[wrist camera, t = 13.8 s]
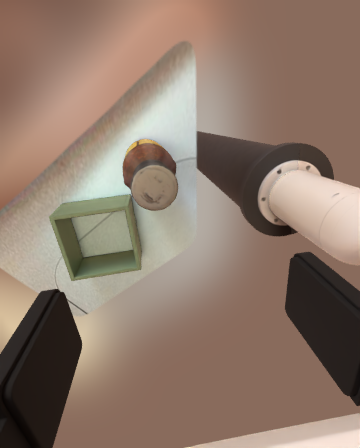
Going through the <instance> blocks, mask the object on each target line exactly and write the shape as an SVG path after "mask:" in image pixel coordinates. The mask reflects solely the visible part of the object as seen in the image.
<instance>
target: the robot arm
mask: <svg viewBox="0 0 360 448" xmlns="http://www.w3.org/2000/svg"><path fill="white" fill-rule="evenodd" d="M277 171H278V172H277ZM258 207H259V210H260V212H261V213H262V215H263V216H264V217H265V218H266V219H267V220H268V221H270V222H271V223H273V224H276V225H285V226H286V225H289V226H291V227H292V228H293V229H295V230H296V231H298V232H299V233H300V234H302V235H303V236H304V237H306V238H307V239H309V240H310V241H311V242H313V243H314V244H316V245H317V246H319V247H320V248H321V249H323V250H324V251H325V252H327V253H328V254H330V255H331V256H332V257H334V258H336V259H337V260H340V261H342V262H344V263H347V264H352V265H360V188H357V187H354V186H351V185H347V184H344V183H341V182H340V181H339V182H338V181H335V180H332V179H328V178H325V177H322V176H321V175H320V172H319V171H318V170H317V168H316V167H314V166H313V165H312V164H310V163H308V162H304V161H299V160H293V161H287V162H284V163H282V164H280V165H278V166H276V167H275V168H274V169H273V170H271V171H270V172H269V173H268V174H267V176H266V177H265V178H264V180H263V181H262V184H261V186H260V188H259V192H258ZM285 310H286V313H287V315H288V317H289V318H290V320H291V321H292V322H293V324H294V325H295V326H296V328H297V329H298V331H299V332H300V334H302V336H303V338H304V339H305V340H306V342H307V343H308V345H309V346H310V347H311V349H312V350H313V352H314V353H315V354H316V356H317V357H318V359H319V360H320V361H321V363H322V364H323V366H324V367H325V368H326V370H327V371H328V373H329V374H330V375H331V377H332V378H333V380H334V381H335V382H336V384H337V385H338V387H339V388H340V389H341V391H342V392H343V393H344V394H345V395H347V396H350V397H351V399H352V400H353V401H354V403H355V404H356V405H357V406H360V291H359V290H357V289H356V288H355V287H354V286H352V285H351V284H350V283H349V282H347V281H346V280H345V279H343V278H342V277H341V276H340V275H339V274H337V273H336V272H335V271H334V270H332V269H331V268H330V267H329V266H327V265H326V264H325V263H324V262H322V261H321V260H320V259H319V258H317V257H316V256H315V255H314V254H312V253H311V252H304V253H297V254H295V255H294V257H293V258H291V259H290V266H289V275H288V285H287V294H286V303H285ZM81 349H82V340H81V337H80V335H79V332H78V329H77V326H76V324H75V321H74V318H73V315H72V313H71V310H70V307H69V304H68V301H67V299H66V296H65V294H64V292H60V291H59V290H58V289H53V290H47V291H42V292H40V293H39V295H38V296H37V298H36V300H35V301H34V303H33V304H32V306H31V307H30V309H29V310H28V312H27V314H26V315H25V317H24V318H23V320H22V321H21V323H20V324H19V326H18V327H17V329H16V331H15V332H14V334H13V335H12V337H11V338H10V340H9V342H8V343H7V345H6V346H5V348H4V349H3V351H2V352H1V354H0V448H52V447H53V444H54V441H55V437H56V434H57V431H58V427H59V424H60V420H61V417H62V414H63V410H64V407H65V404H66V400H67V397H68V394H69V390H70V387H71V383H72V380H73V377H74V373H75V370H76V367H77V363H78V360H79V357H80V353H81ZM186 448H360V413H357V414H352V415H347V416H342V417H337V418H331V419H327V420H321V421H316V422H311V423H306V424H301V425H296V426H291V427H286V428H281V429H275V430H270V431H265V432H260V433H255V434H250V435H245V436H241V437H235V438H230V439H225V440H221V441H215V442H211V443H205V444H200V445H196V446H191V447H186Z"/></svg>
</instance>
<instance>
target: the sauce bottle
mask: <svg viewBox="0 0 360 448" xmlns="http://www.w3.org/2000/svg"><path fill="white" fill-rule="evenodd" d="M175 174H176V163H175V161H174V160H173V158H172V157H171V155H170V154H169V153H168V152H167V151H166V150H165V149H164V148H163V147H162V146H160V145H159V144H158V143H156V142H154V141H152V140H148V139H142V140H139V141H136V142H134V143H133V144H132V145H131V146H130V147H129V148H128V150H127V152H126V156H125V159H124V162H123V177H124V183H125V185H126V186H128V187H129V188H130V189H131V194H132V196H133V198H134V199H135V201H136V202H137V204H138V205H140V206H141V207H143V208H145V209H148V210H154V211H155V210H162V209H165V208H167V207H168V206H169V205H171V203H172V202H173V201H174V200H175V198H176V196H177V192H178V183H177V179H176V177H175Z"/></svg>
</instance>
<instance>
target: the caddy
mask: <svg viewBox="0 0 360 448" xmlns="http://www.w3.org/2000/svg"><path fill="white" fill-rule="evenodd" d="M121 210H125V213H126V217H127V222H128V227H129V232H130V236H131V241H132V246H133V250H131V251H125V252H118V253H112V254H106V255H99V256H93V257H87V258H83V256H82V253H81V250H80V247H79V244H78V241H77V238H76V234H75V231H74V228H73V225H72V222H71V219H70V218H72V217H79V216H86V215H93V214H100V213H107V212H114V211H121ZM49 219H50V222H51V224H52V227H53V230H54V233H55V236H56V238H57V241H58V244H59V247H60V250H61V253H62V255H63V258H64V261H65V264H66V267H67V269H68V272H69V275H70V278H71V281H75V280H81V279H87V278H93V277H99V276H105V275H111V274H117V273H123V272H129V271H135V270H141V256H142V251H141V246H140V241H139V236H138V230H137V225H136V220H135V215H134V210H133V205H132V200H131V195H130V194H129V195H122V196H114V197H107V198H100V199H93V200H85V201H78V202H71V203H64V204H61V205H60V206H59V207H58V208H57V209H56V210H55V211H54V212H53V213H52V214H51V215H50V216H49Z"/></svg>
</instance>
